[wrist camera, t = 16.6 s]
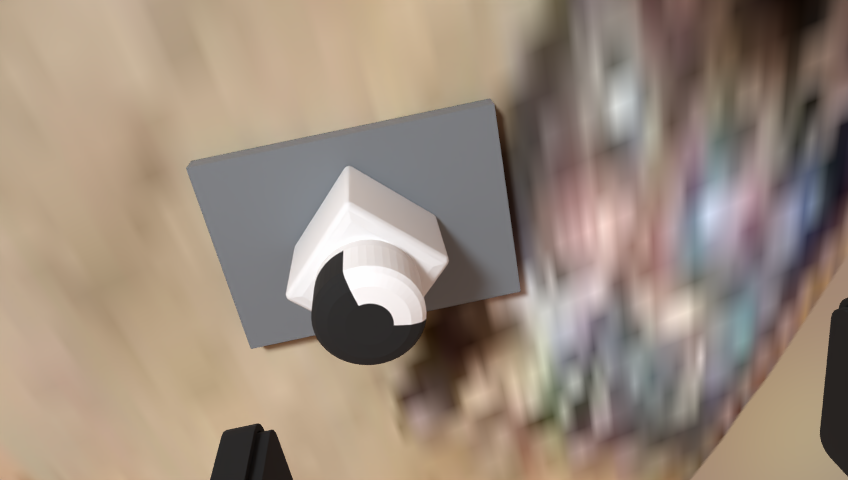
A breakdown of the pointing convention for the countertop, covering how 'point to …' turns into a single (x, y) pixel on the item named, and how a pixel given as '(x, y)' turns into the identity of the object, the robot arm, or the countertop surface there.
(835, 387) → the robot arm
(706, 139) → the countertop surface
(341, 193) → the medicine bottle
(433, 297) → the serving board
